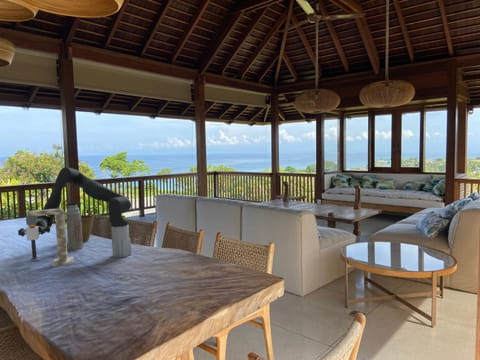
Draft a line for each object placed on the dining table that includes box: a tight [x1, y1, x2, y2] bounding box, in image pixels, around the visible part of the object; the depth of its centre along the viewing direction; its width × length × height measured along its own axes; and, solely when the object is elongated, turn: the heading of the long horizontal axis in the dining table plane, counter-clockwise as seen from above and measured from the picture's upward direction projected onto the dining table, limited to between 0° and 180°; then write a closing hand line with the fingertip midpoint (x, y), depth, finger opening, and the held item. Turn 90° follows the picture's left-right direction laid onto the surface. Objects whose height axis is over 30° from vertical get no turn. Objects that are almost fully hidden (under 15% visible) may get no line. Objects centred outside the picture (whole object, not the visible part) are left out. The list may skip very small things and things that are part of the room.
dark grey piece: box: [25, 215, 40, 263], centre depth 172 cm, size 4×4×24 cm
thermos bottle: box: [65, 202, 84, 251], centre depth 202 cm, size 8×8×28 cm
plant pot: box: [81, 214, 94, 243], centre depth 219 cm, size 15×15×16 cm
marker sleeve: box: [25, 226, 40, 241], centre depth 172 cm, size 5×5×6 cm
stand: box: [27, 207, 74, 267], centre depth 175 cm, size 18×9×29 cm, turn 112°
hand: (32, 233), depth 171 cm, fingers open, 8 cm apart
